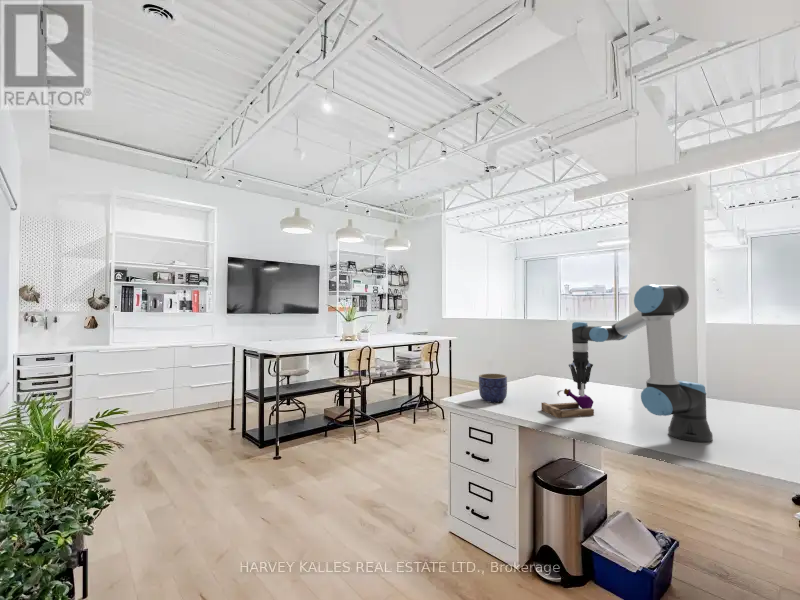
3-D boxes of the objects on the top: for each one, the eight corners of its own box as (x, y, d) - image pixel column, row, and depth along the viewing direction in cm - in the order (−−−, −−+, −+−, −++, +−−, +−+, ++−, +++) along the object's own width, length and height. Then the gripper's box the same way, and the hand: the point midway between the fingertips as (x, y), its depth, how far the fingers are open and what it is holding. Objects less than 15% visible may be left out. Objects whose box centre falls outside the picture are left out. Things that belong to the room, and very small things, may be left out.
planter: (490, 396, 246) (490, 372, 247) (513, 400, 234) (512, 375, 234) (473, 400, 236) (473, 375, 236) (496, 405, 223) (495, 379, 223)
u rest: (593, 415, 200) (593, 407, 200) (557, 417, 197) (556, 409, 197) (576, 407, 215) (575, 400, 215) (541, 410, 211) (541, 402, 211)
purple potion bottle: (590, 396, 212) (558, 383, 214) (596, 399, 204) (562, 386, 206) (585, 409, 212) (553, 396, 214) (591, 412, 205) (557, 399, 207)
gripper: (587, 349, 212) (588, 393, 212) (565, 350, 210) (566, 394, 210) (596, 351, 205) (597, 396, 205) (573, 352, 203) (574, 397, 203)
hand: (581, 395), depth 207 cm, fingers closed
